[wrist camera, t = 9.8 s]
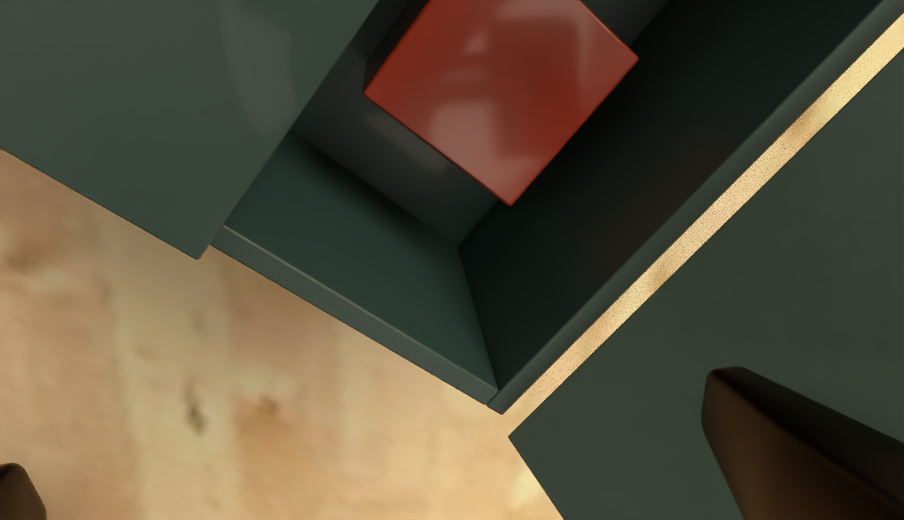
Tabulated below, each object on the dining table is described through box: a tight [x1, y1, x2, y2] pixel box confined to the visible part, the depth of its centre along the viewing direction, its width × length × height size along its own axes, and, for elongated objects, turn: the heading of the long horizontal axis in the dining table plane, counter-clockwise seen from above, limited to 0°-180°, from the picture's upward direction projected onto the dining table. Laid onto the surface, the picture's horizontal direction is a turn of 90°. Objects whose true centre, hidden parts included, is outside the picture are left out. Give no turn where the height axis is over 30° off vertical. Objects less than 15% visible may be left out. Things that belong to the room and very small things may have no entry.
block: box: [362, 0, 638, 206], centre depth 15 cm, size 4×4×4 cm
